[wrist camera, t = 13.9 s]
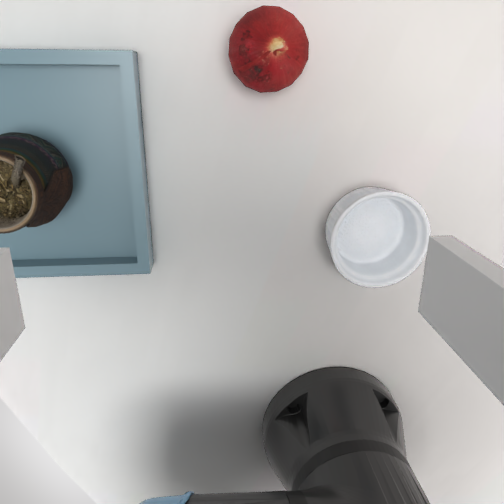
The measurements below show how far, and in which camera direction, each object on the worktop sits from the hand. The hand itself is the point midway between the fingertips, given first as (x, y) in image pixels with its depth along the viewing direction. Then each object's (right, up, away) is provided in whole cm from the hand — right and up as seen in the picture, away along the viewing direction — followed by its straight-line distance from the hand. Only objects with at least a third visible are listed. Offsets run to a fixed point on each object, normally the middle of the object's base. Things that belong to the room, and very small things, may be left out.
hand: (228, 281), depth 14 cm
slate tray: (-17, +8, +24) cm, 31 cm away
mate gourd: (-17, +8, +23) cm, 30 cm away
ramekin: (+12, +3, +29) cm, 31 cm away
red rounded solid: (+2, +17, +23) cm, 28 cm away
